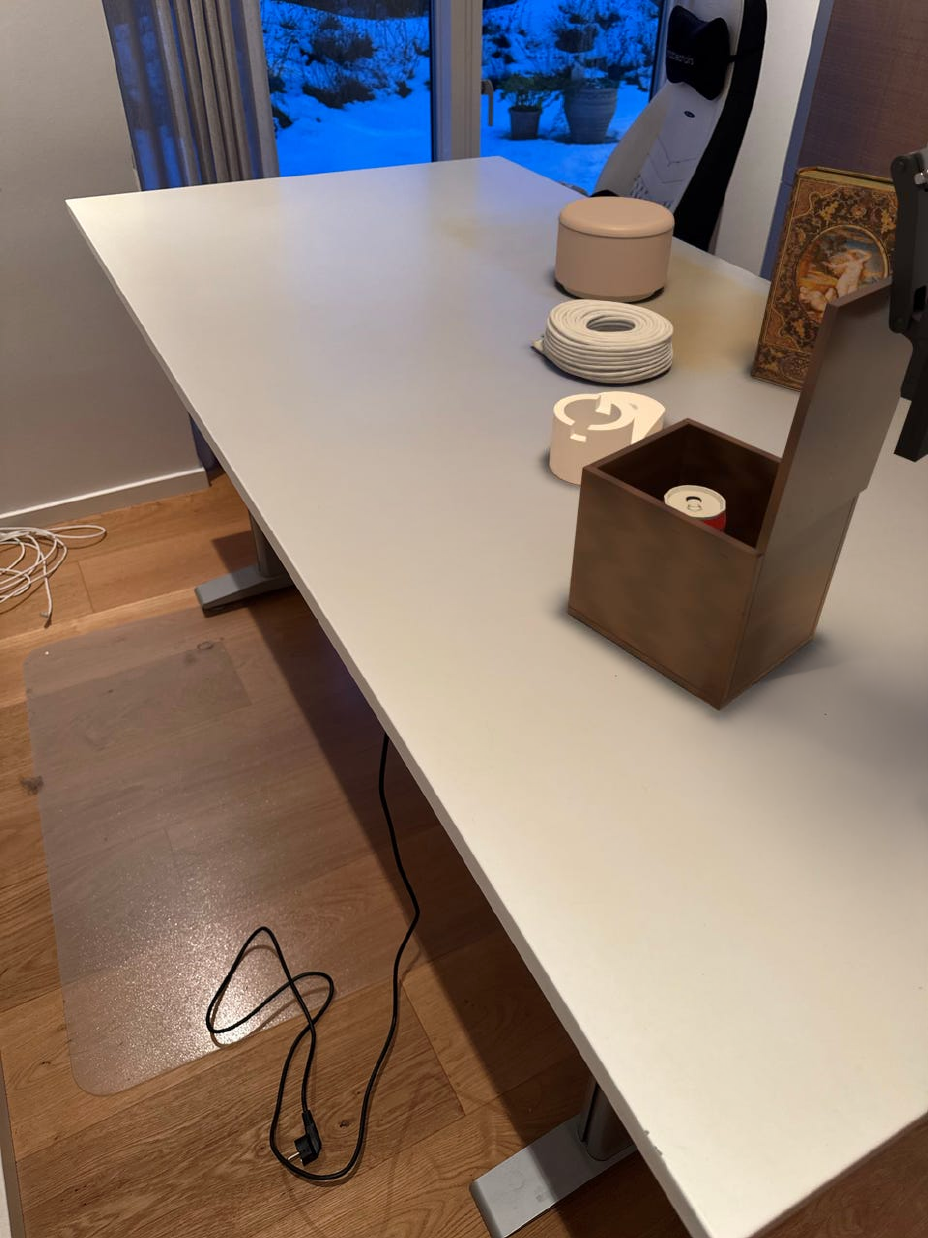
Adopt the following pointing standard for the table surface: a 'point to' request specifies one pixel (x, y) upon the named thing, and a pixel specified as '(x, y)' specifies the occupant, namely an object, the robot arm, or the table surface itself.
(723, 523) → the soda can
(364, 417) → the table surface
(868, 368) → the lid
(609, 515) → the bin
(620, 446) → the bracket
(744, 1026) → the table surface
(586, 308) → the cable
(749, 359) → the table surface
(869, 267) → the book
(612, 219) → the container
